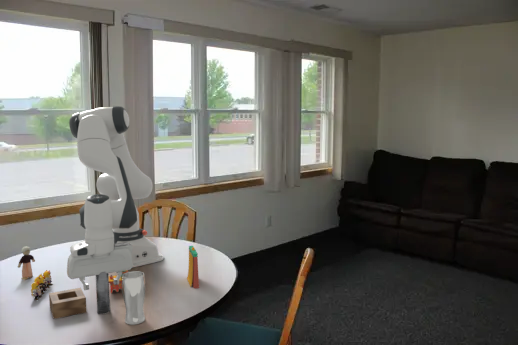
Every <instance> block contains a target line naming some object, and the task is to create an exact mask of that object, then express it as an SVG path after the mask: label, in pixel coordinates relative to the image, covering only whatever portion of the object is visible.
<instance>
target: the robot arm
mask: <svg viewBox="0 0 518 345" xmlns="http://www.w3.org/2000/svg"><path fill="white" fill-rule="evenodd" d="M68 123H69V130H70V133H71V135H72V137H74V138H76V143H77V144H76V145H77V154H78V160H80V162H81V163H82V164H83V165H84V166H85V167H86V168H88V169H90V170H93V171H97V172H100V173H102V174H100V175H99V177H97V179H96V189H97V191H98V193H97V194H92V195H89V196H87V197H86V198H85V201H84V204H83V205H82V206H81V207H80V208H79V209H78V210H79V218H80V225H79V226H80V227H81V228H83V229H85V234H84V240H82V241H79V242H77V243H75V244H72V245H71V246H70V248H69V249H70V250H69V251H70V255H69V256H68V258H67V265H66V274H67V277H68V278H69V279H71V280H74V279H79V281H80V282H81V284H82V285H83V286H82V287H83V290H84V291H89V290H90V284H89V283H88V282H85V280H86V278H87V277H92V276H96V275H99V274H100V273H101V272H105V271H106V273H108V274H111V273H116V274H117V276H116V275H115V276H116V278H114V279H113V281H114V282H113V283H114V285H118V284H119V279H120V277H121V275H122V271H125V270H128V271H130V270H132V268H137V267H141V266H144V265H150V264H154V263H157V262H162V261H163V260H164V254H162V253H161V252H160V251H159V250H158V249H159V248H158V247H157V244H156V243H155V242H153V241H152V240H151V239H149V238H147V237H146V236H147V235H148V231H147V230H145V229H143V228H140V214H139V210H138V208H137V206H136V204H135V201H134V200H141V199H142V200H143V199H146V198H149V196H150V195H151V194H152V191H153V188H154V187H153V186H154V185H153V181H152V178H151V177H150V176H148V175H146V174H145V173H144V172H143V171H142V170H140V168H139V167H138V166H137V165H136V163H135V161H134V160H133V158H132V156H131V153H130V150H129V147H128V144H127V140H126V137H125V134H124V133H126V132H127V131H128V129H129V128H130V115H129V114H128V112H127V110H126V109H125V108H124V107H123V106H118V105H113V106H108V107H105V106H104V107H96V108H94V109H89V110H84V111H77V112H75V113H74V114H72V115H71V116H70V118H69V122H68Z"/></svg>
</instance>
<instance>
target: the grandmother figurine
mask: <svg viewBox="0 0 518 345" xmlns="http://www.w3.org/2000/svg"><path fill="white" fill-rule="evenodd" d="M30 253H31V247H30V246H23V247H22V248H21V254H23V255H22V256H21V257H20V260H19V261H18V264H17V268H18V269H20V268H21V280H22V281H26V280H28V279H31V278H32V279H33V278H34V276H33V269H32V268H33V267H32V263H35V262H36V260H35V257H34V255H32V254H30ZM21 266H22V267H21Z"/></svg>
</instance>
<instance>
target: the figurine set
mask: <svg viewBox="0 0 518 345" xmlns="http://www.w3.org/2000/svg"><path fill="white" fill-rule="evenodd" d="M51 275H52V272H51V270H48V269H46V270H45V271H44V272H43V273H40V274H39V275H38V276H37V277H35V278H34V280H33V281H34V282H32V283H31V285H30V286H31V287H30V288H31V289H30V292H31V297H32V298H33V300H34V301H36V302H37V301H39V298H41V297H42V295H44V294H45V292H47V291H48V289H50V288H51V287H50V286H53V283H52V282H53V280H52V276H51Z"/></svg>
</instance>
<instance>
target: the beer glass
mask: <svg viewBox="0 0 518 345" xmlns="http://www.w3.org/2000/svg"><path fill="white" fill-rule="evenodd" d="M121 292H122V296H123V297H122V298H123V302H124V307H125V318H124V322H125V324H127V325H131V326H134V325H139V324H142V323H144V322H145V319H146V317H145V313H144V304H145V297H146V280H145V273H144V272H142V271H140V270H132V271H128V272H127V273H124V274H123V275H122V289H121Z"/></svg>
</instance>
